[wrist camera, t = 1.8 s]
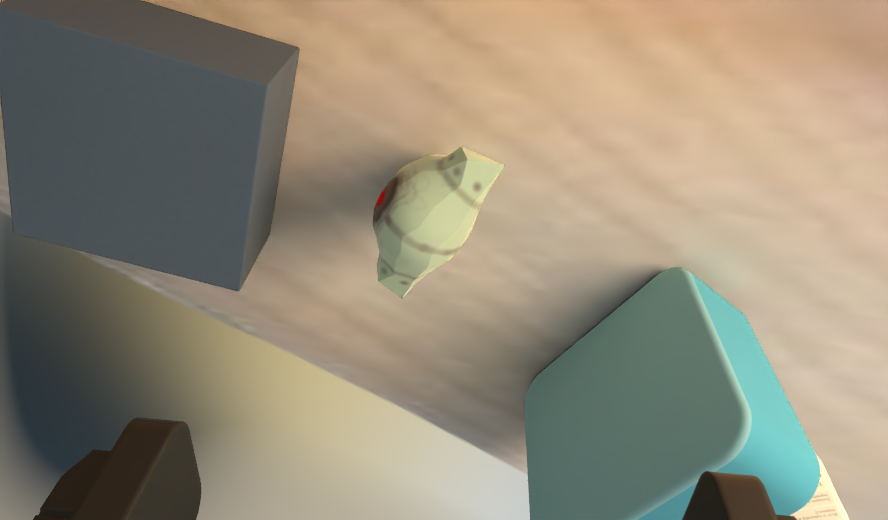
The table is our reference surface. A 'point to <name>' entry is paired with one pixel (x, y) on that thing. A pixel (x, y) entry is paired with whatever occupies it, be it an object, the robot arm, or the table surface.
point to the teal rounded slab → (661, 412)
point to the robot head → (429, 214)
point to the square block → (143, 133)
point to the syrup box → (823, 502)
